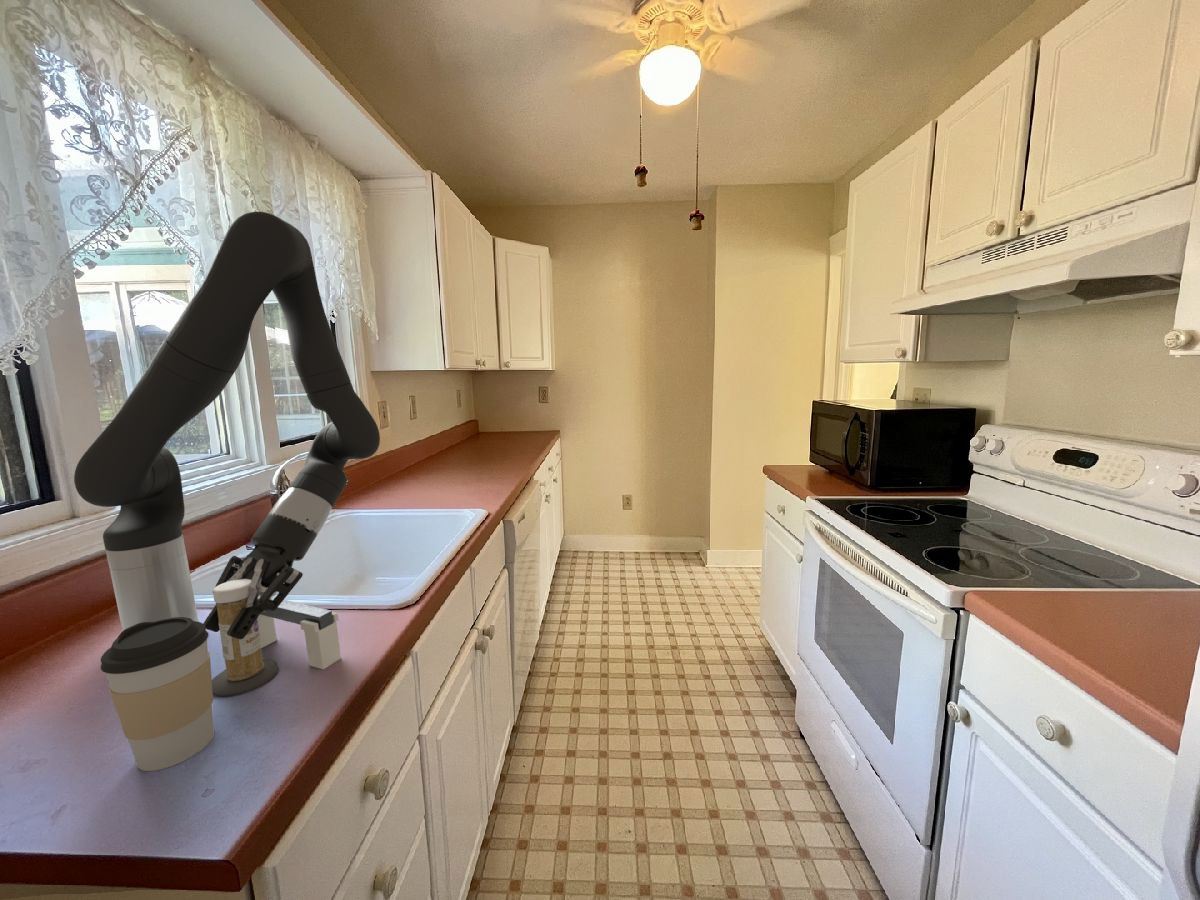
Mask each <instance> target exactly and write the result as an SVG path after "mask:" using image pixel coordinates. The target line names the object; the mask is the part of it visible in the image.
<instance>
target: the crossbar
mask: <svg viewBox="0 0 1200 900" xmlns="http://www.w3.org/2000/svg"><path fill="white" fill-rule="evenodd" d="M260 597H261V596H260V595H259V596H258V599H259V598H260ZM274 598H275V596H273V597H271V600H274ZM332 612H333V611H332V610H330V609H326V608H322V607H318V606H317V607H316V606H312V605H308V604H303V603H301V602H300V603H299V602H295V601H292V600H291V601H290V600H287V599H284V600H283V601H282V602H281V604H280V605H279V606H278V607H277V609H276V610H274V611H271V610H266V611H265V612H264V613H260V614H261V615H265V616H268V617H272V618H274V619H277V620H279V621H284V622H289V623H292V624H296V625H300V626H301V624H300V622H301V621H303V620H307V621H311V622H315V623H318V627H319V630H322V629H324V628H326V627H327V626H329V625H331V624H333V617H332Z"/></svg>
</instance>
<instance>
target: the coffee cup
mask: <svg viewBox="0 0 1200 900" xmlns="http://www.w3.org/2000/svg"><path fill="white" fill-rule="evenodd" d="M203 623H204V622H203ZM203 623H202V622H200V621H198V622H197V621H193V620H192V619H190V618H187V617H175V618H169V619H163V620H159V621H155V622H142V623H138V624H136V625H134V626H131V627H129V628H127V629H125V630H124V631H121V632H120V634H119V635H118V636H117V637H116V639H115V640H114V641H113V642H112V644H111V647H109V648H108V649H107V650H105V652H104V653H103V654H102V655H101V657H100V663H101V664H100V670H101V671H102V672H103V673H105V676H106V679H107V682H108V690H109V694H110V696H111V700H112V702H113V706H114V708H115V711H116V714H117V716H118V717H117V718H118V719H119V722H120V725H121V728H122V731H123V734H124V737H125V738H126V739H127V740H128V743H129V746H130V749H131V752H132V754H133V758H134V760H135V764H136V767H137V768H138V769H139V770H140V771H144V772H155V771H160V770H161V771H162V770H164V769H167V768H168V769H169V768H171V767H173V766H175V765H178V764H181V763H182V762H184V761H187V760H188V759H190V758H191V757H193V756H195V755H196V754H198V753H199V752H200V751H202V750H203V749H204V748H205V747H207V745H209V743H210V742H211V741H212V740H213V738H214V736H215V735H214V734H215V728H214V714H213V703H214V696H213V691H212V679H213V678H212V667H211V666H212V665H211V654H210V652H209V651H208V638H209V636H210V635H209V632H208V631H207V629H206V627H205V625H204V624H203Z"/></svg>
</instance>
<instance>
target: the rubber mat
mask: <svg viewBox="0 0 1200 900" xmlns="http://www.w3.org/2000/svg"><path fill="white" fill-rule="evenodd" d="M262 660H263V663H264V668H263V670H261V671H260V672H259V673H258V674H256V675H254V676H252V677H250V678H247V679H244V680H238V681H230V680H228V679H227V678H226V673H227V671H226V669H224V670H223V671H221V672H220V673H218V674H217V675H215V676H214V677H213V678H212V691H213V697H217V698H220V697H221V698H225V697H233V696H238V695H241V694H245V693H247V692H250V691H253V690H255V689H257V688H260V687H261V686H263V685H264V684H266V683H268V682H269V681H270V680H272V679H273V678H274V677H275V676H276V674H277V673H278V670H279V663H278V662H277V660H276V659H273V658H268V657H265V658H263V657H262Z"/></svg>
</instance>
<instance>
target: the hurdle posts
mask: <svg viewBox="0 0 1200 900" xmlns="http://www.w3.org/2000/svg"><path fill="white" fill-rule="evenodd" d="M338 614H339V613H338V612H335V611H332V617H333V624H331V625H329V626H327V627H326V628H324V629H322V630H319V627H318V623H315V622H311V621H307V620H303V621H301V622H300V624H301V625H300V624H299V625H300V629H301V630H302V631H303V632H304V639H305V645H306V651H307V658H308V664H309V665H308V666H310V667H313V668H316V669H319V670H325V669H327V668H328V667H329V666H331V665H333V664H335V663H336V662H338V661H340V660H341V659H342V654H341V647H340V641H339V639H340V638H339V632H338V626H337V625H338V624H337V622H338V621H339V615H338ZM257 620H258V627H259V635H260V641H261V649H263V648H265V647H267V646H268V645H270V644H272V643H274V642H276V641H278V638H277V637H278V636H277V633H276V632H277V630H276V624H275V618H272V617H268V616H265V615H261V614H260V615H259V616H258V618H257Z"/></svg>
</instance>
